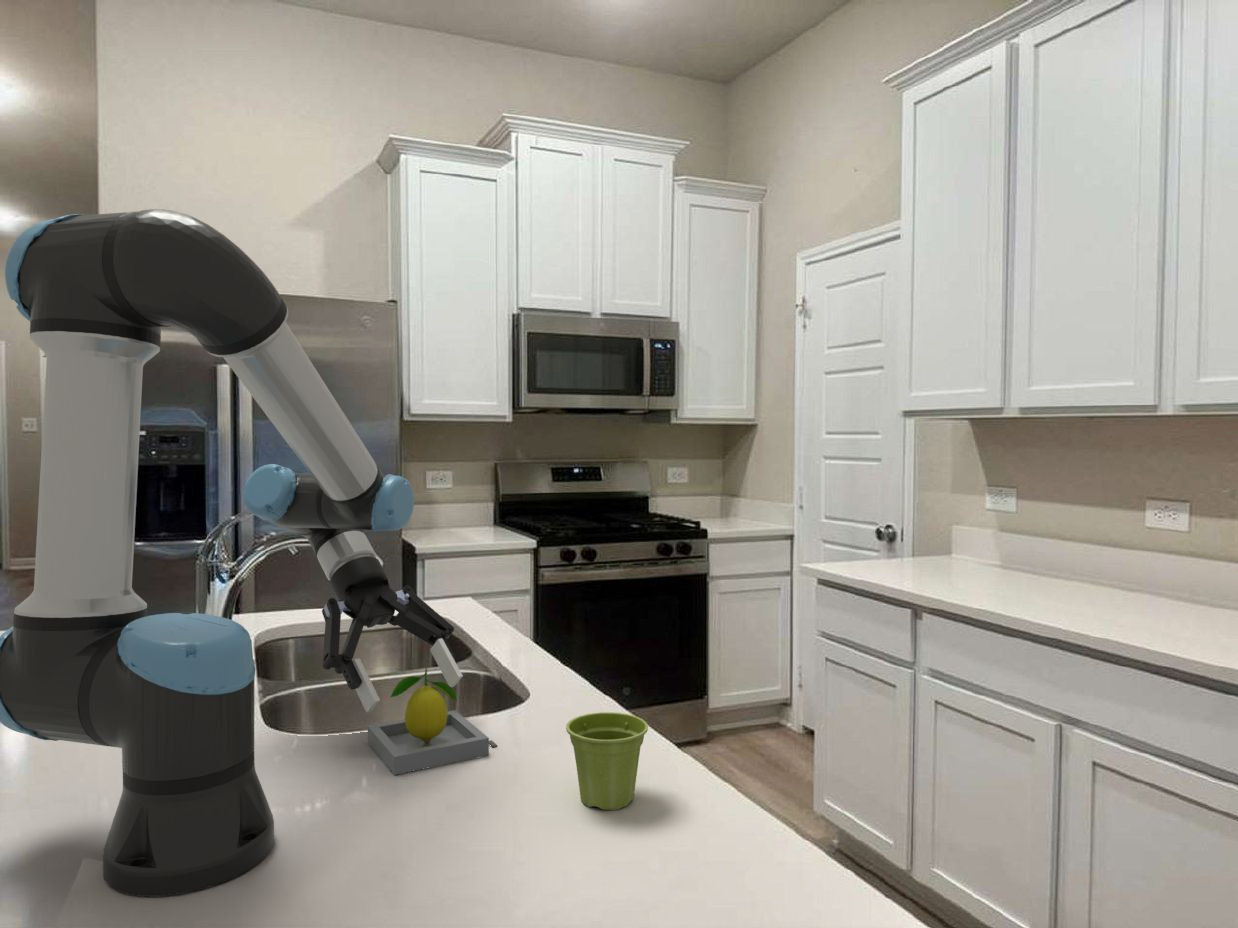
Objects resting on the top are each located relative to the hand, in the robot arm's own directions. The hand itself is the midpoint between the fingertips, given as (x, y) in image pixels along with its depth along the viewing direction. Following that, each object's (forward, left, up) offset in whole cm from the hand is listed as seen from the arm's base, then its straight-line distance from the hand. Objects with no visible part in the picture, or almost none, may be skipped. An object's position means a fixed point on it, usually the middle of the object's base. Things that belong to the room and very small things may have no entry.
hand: (417, 693), depth 113 cm
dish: (-3, 0, -7) cm, 7 cm away
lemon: (-3, 0, -6) cm, 7 cm away
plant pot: (-28, -13, -7) cm, 32 cm away
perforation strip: (-2, -8, -7) cm, 11 cm away
